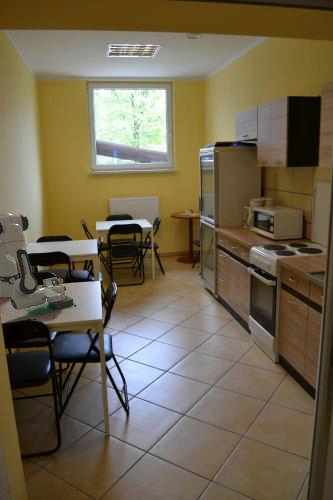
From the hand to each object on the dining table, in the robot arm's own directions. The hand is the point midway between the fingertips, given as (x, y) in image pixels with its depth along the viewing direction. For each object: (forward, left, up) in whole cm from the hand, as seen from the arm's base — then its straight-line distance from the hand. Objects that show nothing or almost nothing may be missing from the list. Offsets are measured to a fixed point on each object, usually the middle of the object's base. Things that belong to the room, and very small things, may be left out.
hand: (61, 291), depth 246 cm
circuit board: (0, -7, -9) cm, 12 cm away
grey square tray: (0, -1, -9) cm, 9 cm away
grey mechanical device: (-34, +11, -10) cm, 37 cm away
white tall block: (0, -1, -8) cm, 8 cm away
